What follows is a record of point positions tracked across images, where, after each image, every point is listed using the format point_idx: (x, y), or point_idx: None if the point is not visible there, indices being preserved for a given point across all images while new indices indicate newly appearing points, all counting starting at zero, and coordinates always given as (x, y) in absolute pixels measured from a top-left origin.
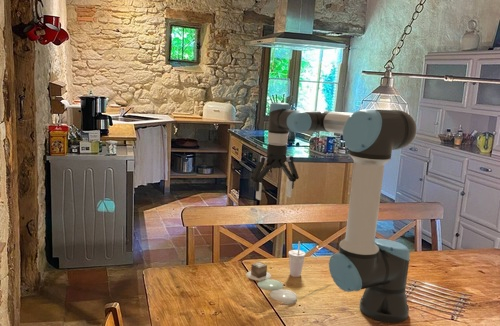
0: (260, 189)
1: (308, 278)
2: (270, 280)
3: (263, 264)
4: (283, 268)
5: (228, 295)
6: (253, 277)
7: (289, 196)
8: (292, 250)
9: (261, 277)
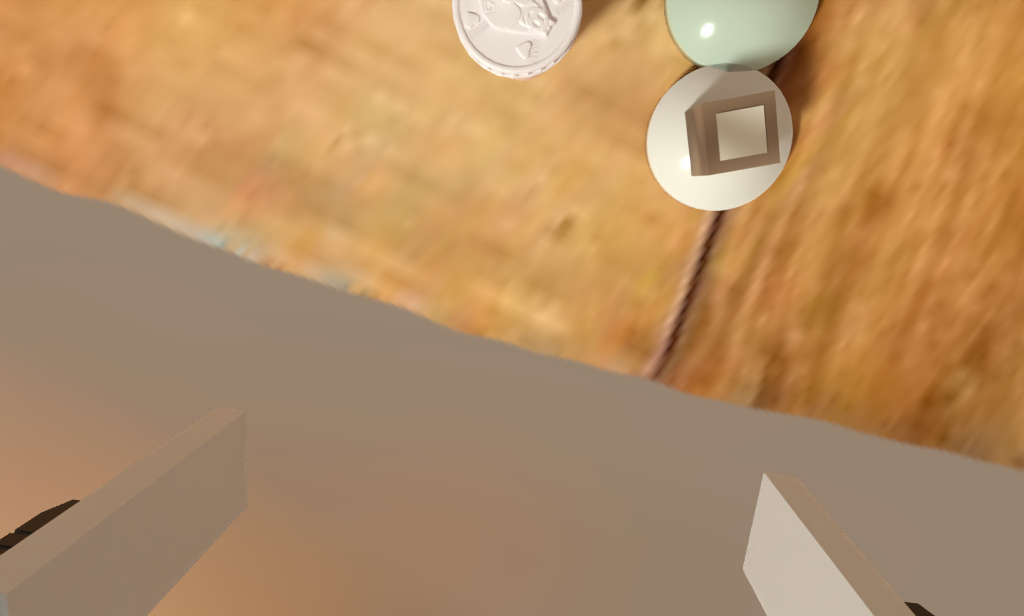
0: (879, 595)
1: None
2: (706, 43)
3: (718, 120)
4: (505, 187)
5: (996, 26)
6: None
7: (236, 424)
8: (514, 66)
9: None
